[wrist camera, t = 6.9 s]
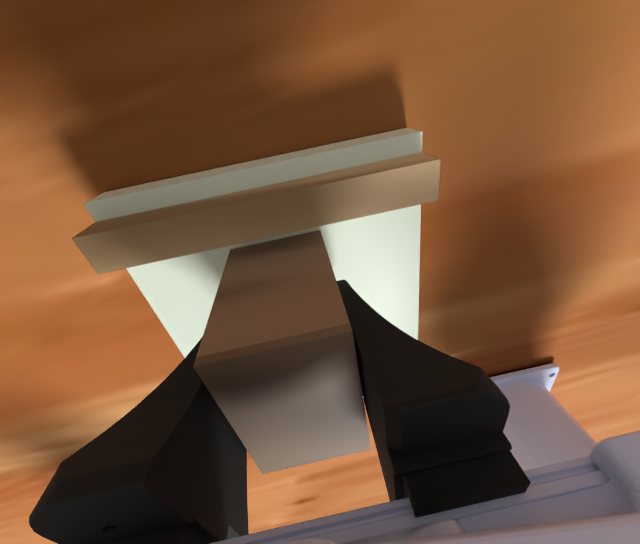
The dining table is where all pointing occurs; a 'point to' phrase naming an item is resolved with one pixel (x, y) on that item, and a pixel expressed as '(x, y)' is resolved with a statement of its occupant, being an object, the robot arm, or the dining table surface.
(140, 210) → the sage wall board
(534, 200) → the dining table surface
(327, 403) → the walnut cabinet block
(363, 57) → the dining table surface
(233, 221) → the oak strip
